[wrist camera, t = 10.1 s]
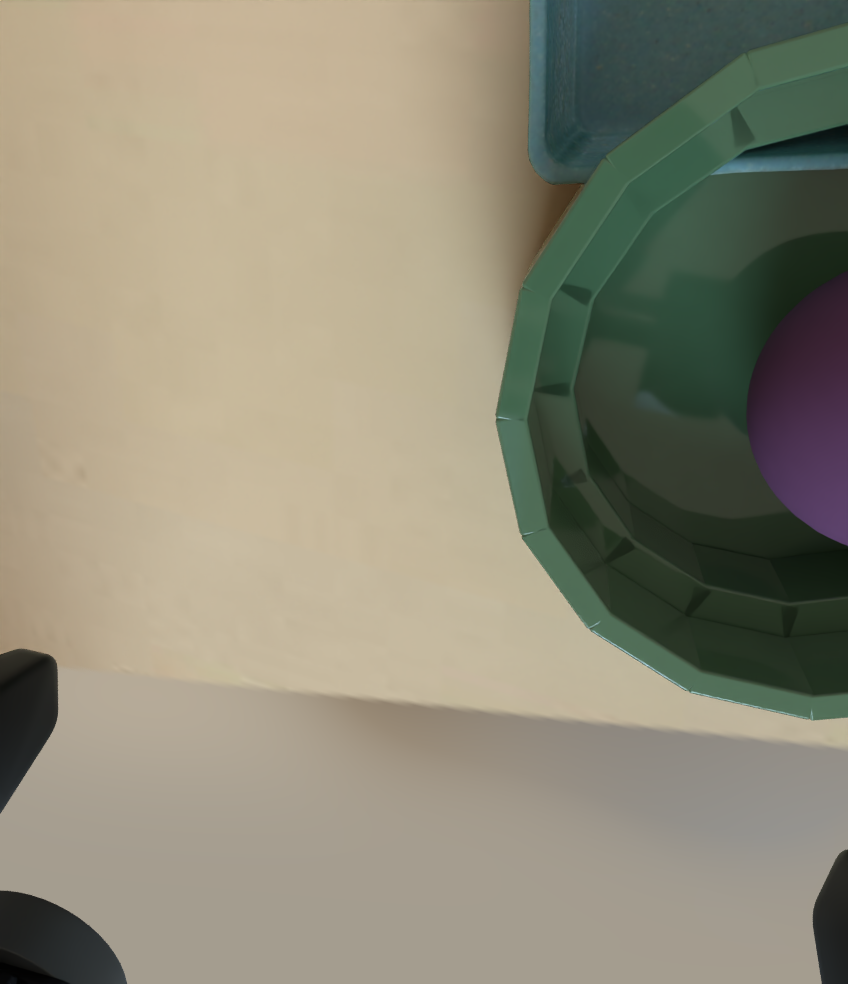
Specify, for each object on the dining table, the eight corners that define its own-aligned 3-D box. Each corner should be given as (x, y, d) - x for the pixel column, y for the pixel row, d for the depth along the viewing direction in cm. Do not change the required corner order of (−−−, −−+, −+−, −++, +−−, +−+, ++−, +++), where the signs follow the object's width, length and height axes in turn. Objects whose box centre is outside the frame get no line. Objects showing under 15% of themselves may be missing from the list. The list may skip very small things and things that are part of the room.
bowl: (954, 641, 20) (1070, 780, 15) (477, 539, 21) (451, 640, 16) (1218, 106, 15) (1500, 75, 10) (580, 16, 16) (584, -47, 12)
